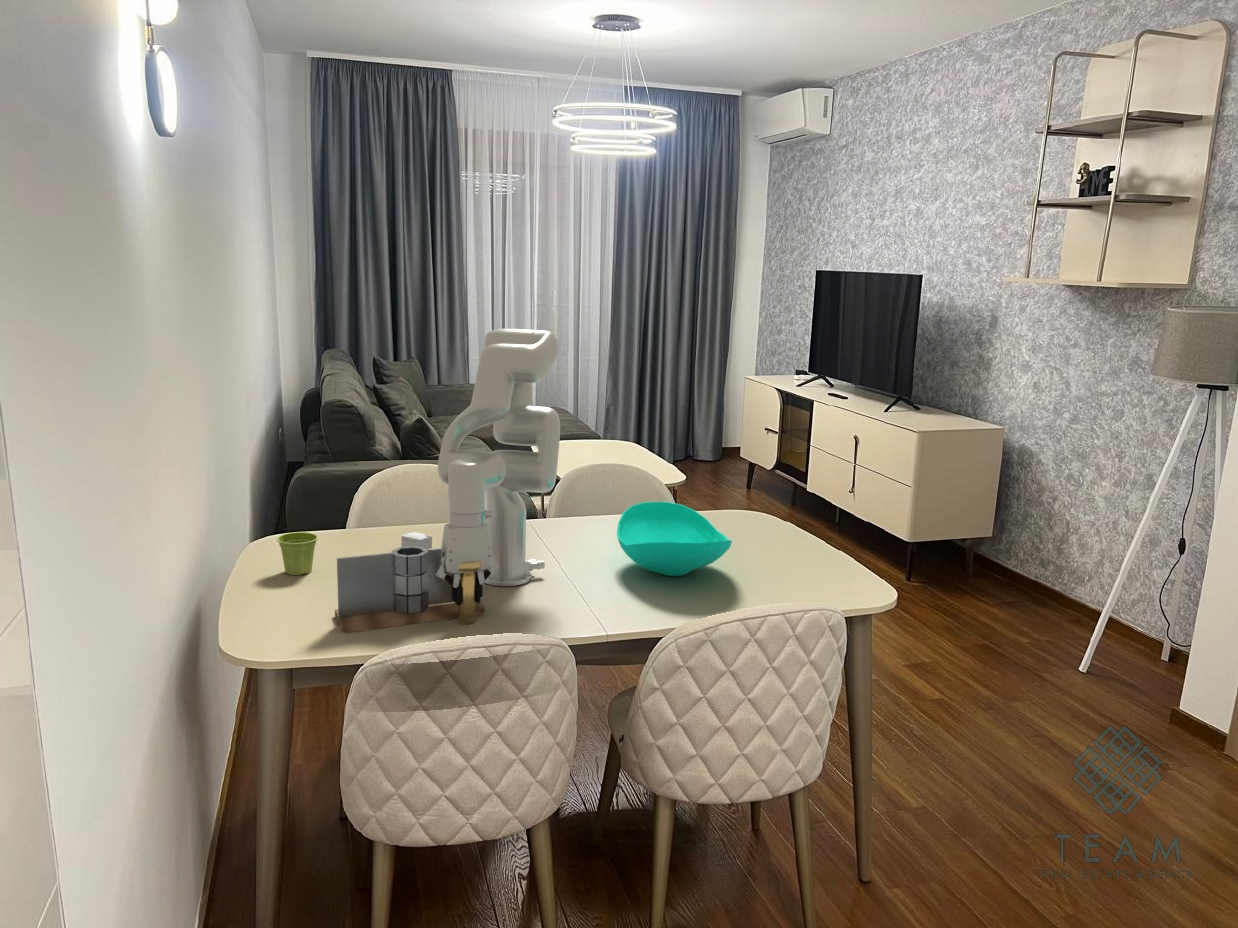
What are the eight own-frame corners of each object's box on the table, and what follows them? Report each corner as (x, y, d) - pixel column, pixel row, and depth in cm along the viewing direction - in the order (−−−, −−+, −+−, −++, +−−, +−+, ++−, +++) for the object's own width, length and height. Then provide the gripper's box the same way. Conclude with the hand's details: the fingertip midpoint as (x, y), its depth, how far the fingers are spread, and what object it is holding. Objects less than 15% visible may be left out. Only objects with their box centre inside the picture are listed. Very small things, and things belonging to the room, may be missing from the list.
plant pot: (323, 566, 233) (322, 532, 231) (313, 578, 224) (311, 543, 222) (285, 565, 233) (284, 531, 231) (273, 577, 223) (271, 542, 222)
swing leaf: (397, 614, 197) (396, 557, 195) (390, 603, 204) (389, 548, 201) (482, 603, 206) (483, 549, 203) (473, 593, 212) (473, 540, 209)
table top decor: (750, 595, 222) (754, 541, 220) (636, 600, 216) (638, 545, 213) (700, 546, 260) (703, 500, 257) (602, 550, 254) (603, 502, 251)
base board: (471, 599, 213) (471, 592, 213) (484, 614, 205) (484, 607, 204) (334, 616, 200) (334, 609, 200) (343, 632, 192) (343, 625, 191)
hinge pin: (477, 613, 204) (477, 553, 202) (486, 623, 199) (486, 562, 196) (448, 617, 202) (447, 556, 199) (456, 627, 196) (456, 565, 193)
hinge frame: (422, 601, 207) (422, 545, 204) (431, 612, 201) (431, 554, 198) (335, 611, 199) (334, 553, 196) (341, 623, 193) (340, 563, 190)
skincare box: (399, 584, 221) (399, 535, 219) (412, 579, 225) (412, 530, 223) (420, 589, 218) (419, 539, 216) (432, 584, 222) (432, 535, 220)
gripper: (499, 510, 202) (498, 591, 206) (422, 517, 195) (423, 601, 199) (510, 519, 196) (510, 602, 200) (432, 527, 189) (433, 613, 192)
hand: (467, 601), depth 199 cm, fingers closed on hinge pin, 3 cm apart
